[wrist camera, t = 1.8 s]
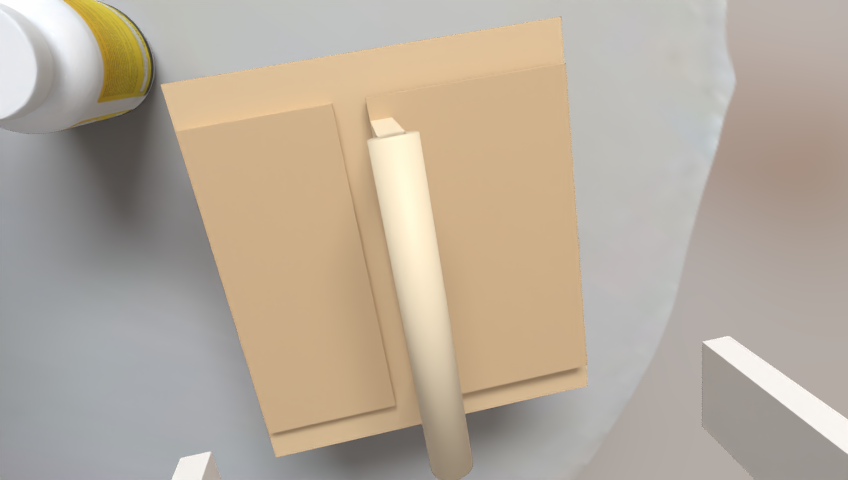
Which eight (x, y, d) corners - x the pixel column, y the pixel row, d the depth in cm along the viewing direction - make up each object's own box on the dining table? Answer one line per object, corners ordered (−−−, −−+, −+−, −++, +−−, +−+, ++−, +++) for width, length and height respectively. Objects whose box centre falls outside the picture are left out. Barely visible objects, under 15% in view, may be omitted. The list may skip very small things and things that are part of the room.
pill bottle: (118, -19, 31) (-7, -65, 20) (179, 91, 33) (98, 104, 22) (12, 28, 30) (-173, 8, 20) (80, 135, 33) (-51, 171, 22)
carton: (292, 365, 39) (275, 468, 29) (212, 78, 33) (156, 84, 23) (531, 313, 41) (592, 394, 31) (500, 29, 34) (566, 15, 24)
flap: (415, 397, 30) (438, 504, 22) (356, 99, 24) (362, 113, 17) (582, 359, 30) (656, 450, 23) (560, 63, 25) (647, 62, 18)
